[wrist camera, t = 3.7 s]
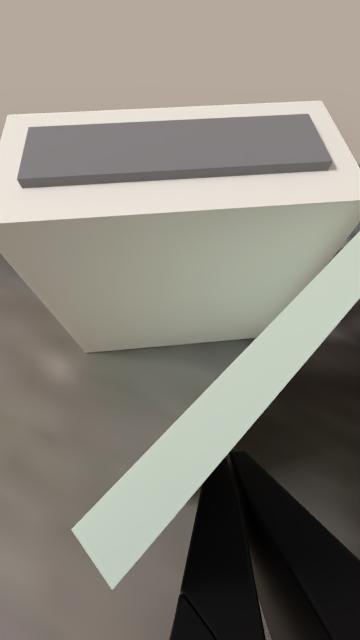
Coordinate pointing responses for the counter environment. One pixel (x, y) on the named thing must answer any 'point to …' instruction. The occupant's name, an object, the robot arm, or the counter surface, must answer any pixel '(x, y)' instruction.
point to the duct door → (215, 422)
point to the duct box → (174, 217)
